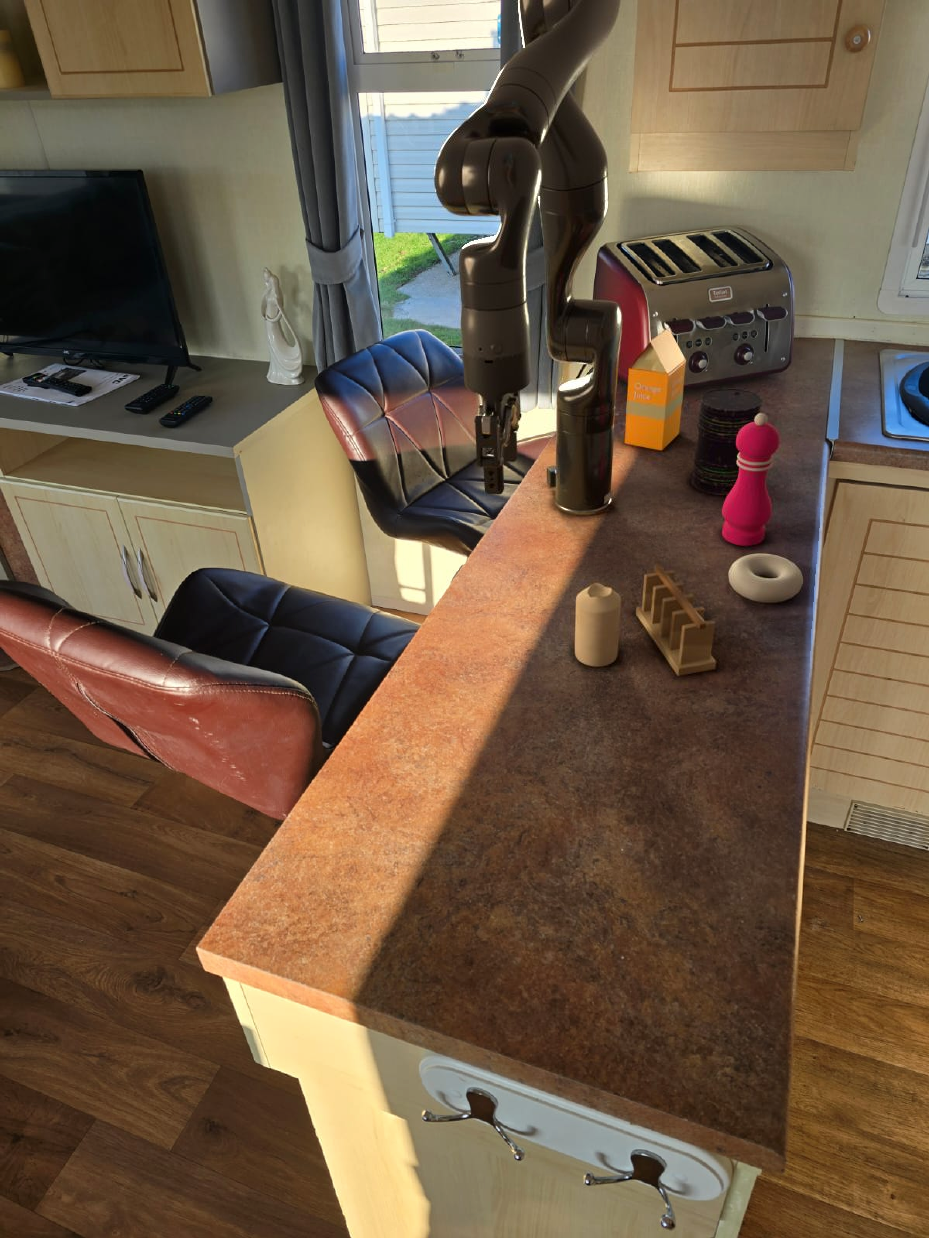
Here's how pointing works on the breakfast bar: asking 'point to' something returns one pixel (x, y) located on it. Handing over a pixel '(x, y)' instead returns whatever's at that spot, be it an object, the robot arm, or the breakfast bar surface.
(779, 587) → the donut
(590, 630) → the candle
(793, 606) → the breakfast bar surface
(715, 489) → the storage jar
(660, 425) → the orange juice
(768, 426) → the pepper mill
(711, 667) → the toast rack
